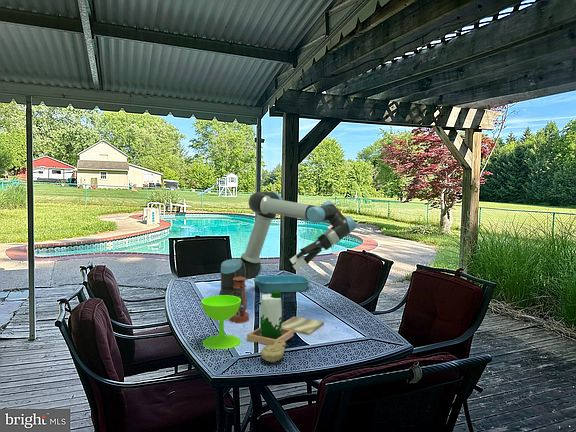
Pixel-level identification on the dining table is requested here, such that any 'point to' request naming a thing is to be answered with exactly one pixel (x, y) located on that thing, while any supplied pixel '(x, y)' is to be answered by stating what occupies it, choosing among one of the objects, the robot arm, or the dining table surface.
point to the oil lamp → (273, 351)
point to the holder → (268, 341)
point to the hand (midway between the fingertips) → (292, 265)
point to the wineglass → (221, 319)
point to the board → (302, 325)
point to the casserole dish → (282, 283)
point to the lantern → (241, 314)
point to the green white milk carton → (271, 315)
